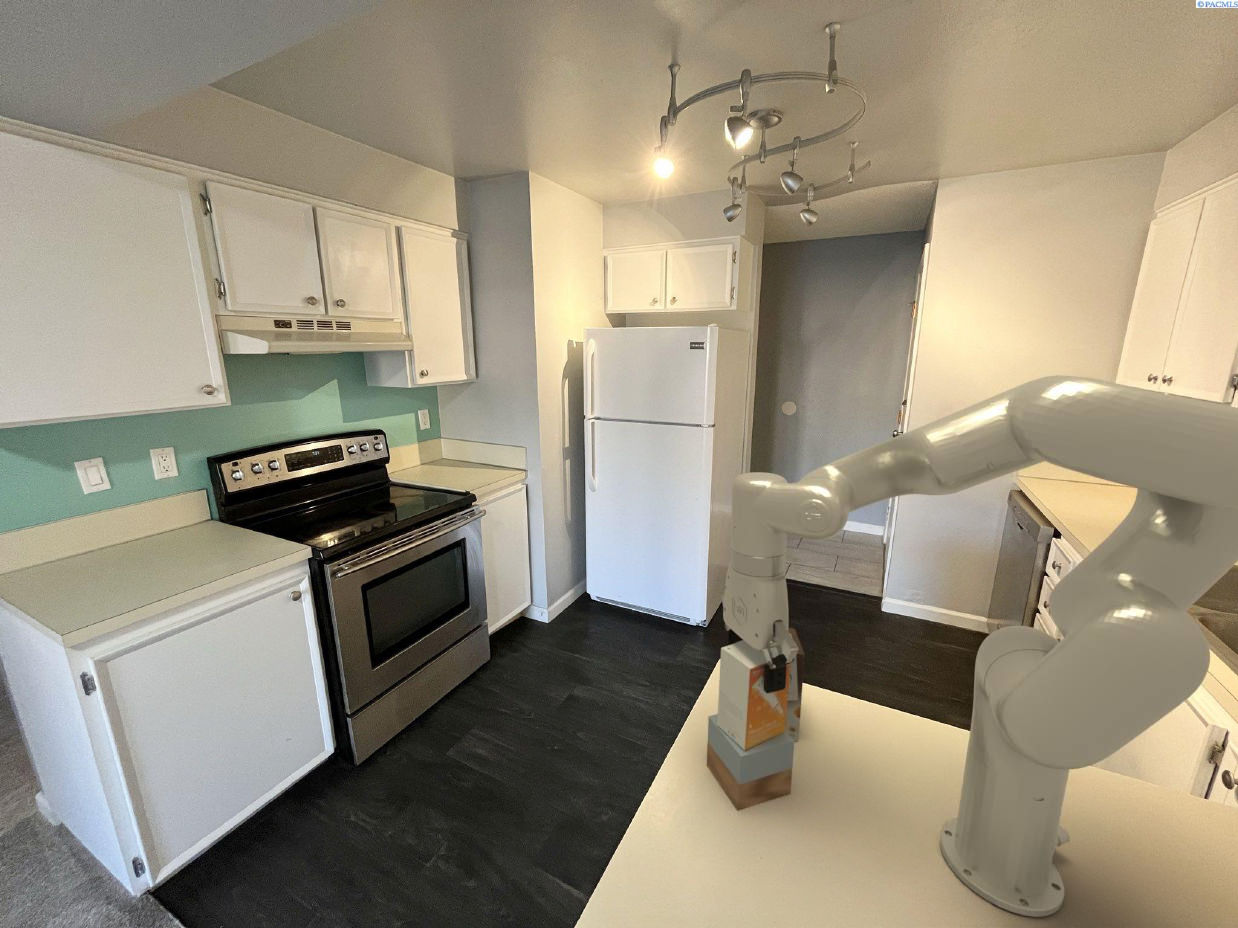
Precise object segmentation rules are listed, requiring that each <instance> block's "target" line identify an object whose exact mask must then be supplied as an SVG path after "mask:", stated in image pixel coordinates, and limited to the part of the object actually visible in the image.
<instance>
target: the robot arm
mask: <svg viewBox="0 0 1238 928" xmlns="http://www.w3.org/2000/svg"><path fill="white" fill-rule="evenodd" d="M1043 462H1046V463H1048V464H1051V465H1054V466H1056V467H1060V468H1062V469H1066V470H1070V471H1073V472H1076V473H1079V474H1083V475H1087V476H1089V477H1092V478H1096V479H1101V480H1105V481H1107V482H1111V483H1115V484H1120V485H1124V486H1127V487H1132V488H1135V489H1137V492H1136V496H1135V500H1134V502H1133V505H1132V507H1131V509H1130V510H1129V512H1128V514H1127V515H1126V516H1125V517H1124V519H1122V521H1121V522H1120V523H1119V524H1118V525H1117V527H1115V529H1114V530H1113V531H1112V532H1111V533H1110V534H1109V535H1108V536H1107V537H1106V538H1105V539H1104V540H1103V541H1102V542H1101V543H1100V544H1099V545H1097V546H1096V547H1095V549H1093V550H1092V551H1091V552H1090V553H1089V554H1088V555H1087V556H1086V557H1085V558H1084V559H1083V560H1082V561H1080V562H1079V563H1078V564H1077V565H1076V566H1075V567H1073V569H1072V570H1070V572H1068V573H1067V574H1066V575H1064V577H1063V578H1062V579H1061V580H1060V581H1058V583H1057V584H1056V585H1055V586H1054V587H1053V589H1052V590H1051V592H1050V594H1049V597H1048V609H1049V614H1050V616H1051V618H1052V619H1053V623H1054V624H1055V625H1056V627H1057V629H1058V631H1059V632H1060V634H1061V635H1062V637H1063V638H1062V639H1061V640H1060V641H1059V640H1058V639H1057V638H1055V637H1054V636H1052V635H1051V634H1049V633H1047V632H1045V631H1043V630H1041V629H1038V628H1035V627H1032V626H1024V625H1009V626H1004V627H1001V628H998V629H996V630H995V631H993V632H991V633H990V634H988V635H987V636H986V638H985V639H984V640H983V641H982V643H981V645H980V646H979V648H978V650H977V655H976V657H975V658H976V659H975V665H974V683H973V684H974V685H973V686H974V687H973V702H972V703H973V704H972V715H971V723H970V730H969V738H968V743H967V750H966V757H965V764H964V771H963V777H962V785H961V791H960V797H959V798H960V799H959V805H958V806H959V807H958V812H957V813H958V815H957V817H954V818H951V819H950V820H948V821H946V822H945V823H944V825H943V826H942V828H941V831H940V837H939V844H940V850H941V853H942V856H943V858H944V859H945V861H946V863H947V865H948V866H949V867H950V869H951V870H952V871H953V873H954V875H956V876H957V877H958V879H960V881H962V882H963V884H965V885H966V886H967V887H968V888H969V889H971V890H972V891H973V892H975V893H976V894H977V895H979V896H981V897H982V898H983V899H984V900H985V901H988V902H990V903H992V904H993V905H996V906H997V907H999V908H1001V909H1003V910H1006V911H1008V912H1011V913H1015V914H1019V915H1021V916H1028V917H1033V918H1034V917H1035V918H1036V917H1037V918H1039V917H1040V918H1041V917H1047V916H1050V915H1054V914H1055V913H1056V912H1057V911H1059V910H1060V908H1061V906H1062V905H1063V903H1064V897H1065V884H1064V882H1063V879H1062V876H1061V874H1060V872H1059V871H1058V869H1057V867H1056V866H1055V865H1054V864H1053V857H1054V853H1055V852H1056V848H1057V847H1061V846H1063V845H1065V844H1067V843H1068V842H1070V841H1071V837H1070V835H1069V833H1068V832H1067V830H1066V829H1065V828H1064V827H1063V826H1061V825H1060V819H1061V815H1062V808H1063V804H1064V800H1065V793H1066V787H1067V782H1068V779H1069V774H1070V770H1078V769H1082V768H1086V767H1090V766H1092V765H1096V764H1097V763H1100V762H1101V761H1104V760H1105V759H1108V757H1110V756H1112V755H1114V754H1115V753H1116V752H1118V751H1119V750H1121V749H1122V748H1123V747H1125V746H1126V745H1128V744H1129V743H1130V742H1132V741H1133V740H1134V739H1136V738H1137V737H1139V736H1140V735H1141V734H1143V733H1144V732H1145V731H1147V730H1148V729H1150V728H1151V727H1152V726H1153V725H1155V724H1156V723H1158V722H1159V721H1160V720H1162V719H1163V718H1164V717H1166V716H1167V715H1169V714H1170V713H1171V712H1173V711H1174V710H1175V709H1177V708H1178V707H1179V706H1180V705H1182V704H1183V703H1184V702H1185V701H1186V700H1188V699H1189V698H1190V697H1191V696H1192V695H1193V694H1194V693H1195V692H1197V690H1198V689H1199V687H1200V686H1201V685H1202V684H1203V682H1204V680H1205V678H1206V676H1207V674H1208V672H1209V668H1210V665H1211V664H1210V663H1211V651H1210V647H1209V643H1208V640H1207V638H1206V636H1205V633H1204V632H1203V631H1202V630H1201V628H1200V626H1199V625H1198V624H1197V623H1196V622H1195V621H1194V620H1193V619H1192V618H1191V617H1190V616H1189V614H1188V613H1186V612H1187V610H1189V609H1190V607H1192V605H1194V604H1195V603H1196V602H1197V601H1198V600H1199V599H1200V598H1201V597H1203V596H1204V595H1205V594H1206V592H1208V591H1210V589H1211V588H1212V587H1213V586H1214V585H1215V584H1216V583H1217V582H1218V581H1219V580H1220V579H1221V578H1223V577H1224V576H1225V575H1226V574H1227V573H1228V572H1229V571H1230V570H1231V569H1232V568H1233V567H1234V565H1235V564H1236V563H1237V562H1238V407H1235V406H1229V405H1225V404H1224V405H1223V404H1218V403H1214V402H1208V401H1203V400H1198V399H1193V398H1186V397H1183V396H1177V395H1171V394H1165V393H1160V392H1156V391H1151V390H1146V389H1141V388H1136V387H1132V386H1128V385H1123V384H1120V383H1114V382H1110V381H1107V380H1106V381H1105V380H1102V379H1097V378H1093V377H1084V376H1073V375H1059V374H1058V375H1049V376H1043V377H1040V378H1035V379H1034V380H1033V379H1032V380H1031V381H1027V382H1025V383H1023V384H1019V385H1017V386H1015V387H1013V388H1010V389H1008V390H1006V391H1005V390H1004V391H1003V392H1000V393H998V394H996V395H994V396H991V397H989V398H987V399H986V398H985V399H984V400H982V401H980V402H978V403H974V404H973V405H970V406H968V407H965V408H963V409H960V410H958V411H955V412H953V413H952V414H949V415H946V416H943V417H941V418H938V419H937V420H934V421H931V422H930V423H926V424H925V425H922V426H920V427H917V428H915V429H912V430H910V431H907V432H904V433H901V434H899V435H897V436H894V437H893V438H890V439H887V440H886V441H882V442H879V443H877V444H874V445H871V446H870V447H869V446H868V447H866V448H864V449H861V450H859V451H856V452H853V453H851V454H849V455H846V456H843V457H842V458H840V459H839V458H838V459H837V460H834V461H832V462H829V463H828V464H825V465H822V466H820V467H818V468H816V469H814V470H812V471H810V472H809V473H807V474H805V475H804V476H803V477H802V478H801V479H800V480H799V481H797V482H791V483H790V482H788V481H787V479H786V478H785V477H783V476H782V475H779V474H776V473H771V472H763V471H760V472H759V471H757V472H753V471H752V472H751V471H750V472H745V473H742V474H738V475H737V476H736V477H735V478H734V480H733V482H732V487H731V522H730V525H731V528H730V529H731V530H730V531H731V532H730V561H729V563H728V569H727V572H726V577H725V584H724V594H722V595H721V602H722V607H723V608H722V609H723V610H722V611H723V612H722V616H723V621H724V623H725V624H724V628H725V630H726V646H728V645H731V644H734V643H737V642H739V641H742V640H744V641H745V642H747V643H748V644H749V645H750V646H751V647H753V648H754V649H756V650H759V651H760V650H762V649H763V652H764V655H765V658H766V661H767V664H768V665H765V667H764V691H765V692H766V693H772V692H776V691H780V690H783V689H785V687H786V666H787V665H789V664H790V663H791V662H793V661H794V658H795V656H796V654H797V652H798V646H797V645H796V643H795V642H794V640H793V638H792V637H791V635H790V634H789V632H788V628H789V600H788V598H789V597H788V587H787V586H788V585H787V579H786V576H785V575H786V567H787V566H786V563H787V543H788V542H787V539H788V537H787V535H790V536H794V537H798V538H801V539H806V540H808V541H809V540H810V541H818V542H819V541H826V540H830V539H832V538H834V537H836V536H838V535H839V534H840V533H841V532H842V531H843V530H844V528H845V526H846V524H847V521H848V519H849V514H850V513H852V512H854V511H856V510H860V509H862V508H864V507H867V506H869V505H873V504H875V503H878V502H879V503H880V502H881V501H885V500H888V499H892V498H895V497H901V496H907V495H908V496H909V495H922V496H924V495H925V496H947V495H952V494H956V493H959V492H962V491H964V490H968V489H970V488H973V487H976V486H979V485H981V484H983V483H987V482H989V481H992V480H995V479H997V478H1001V477H1003V476H1006V475H1009V474H1012V473H1015V472H1017V471H1021V470H1023V469H1027V468H1029V467H1032V466H1035V465H1038V464H1042V463H1043ZM771 639H773V640H774V641H775V642H772V643H770V641H771ZM775 647H777V650H778V653H779V655H778V656H776V657H775V658H774V657H773V654H772V651H771V648H775Z"/></svg>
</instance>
